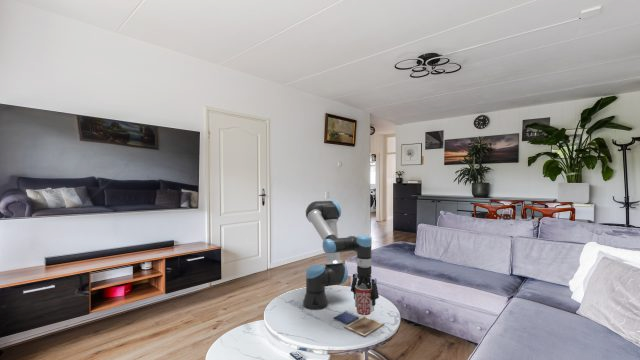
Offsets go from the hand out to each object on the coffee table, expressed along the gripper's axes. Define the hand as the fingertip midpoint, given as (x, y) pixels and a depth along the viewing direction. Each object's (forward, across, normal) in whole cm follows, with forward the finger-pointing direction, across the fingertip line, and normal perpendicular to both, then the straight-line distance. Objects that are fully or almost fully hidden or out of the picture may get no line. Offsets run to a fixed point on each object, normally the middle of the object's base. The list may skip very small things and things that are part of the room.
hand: (364, 308), depth 151 cm
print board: (+9, 0, 0) cm, 9 cm away
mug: (+2, 0, 0) cm, 2 cm away
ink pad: (+9, -13, 0) cm, 16 cm away
